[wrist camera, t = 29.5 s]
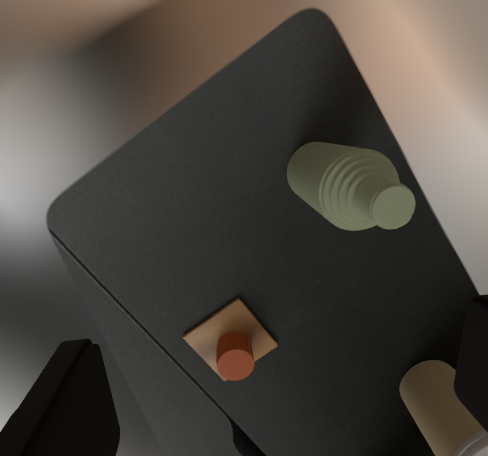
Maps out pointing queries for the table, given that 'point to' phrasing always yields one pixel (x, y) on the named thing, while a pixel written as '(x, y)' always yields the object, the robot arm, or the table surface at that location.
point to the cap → (234, 356)
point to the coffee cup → (441, 411)
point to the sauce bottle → (350, 186)
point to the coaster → (225, 322)
